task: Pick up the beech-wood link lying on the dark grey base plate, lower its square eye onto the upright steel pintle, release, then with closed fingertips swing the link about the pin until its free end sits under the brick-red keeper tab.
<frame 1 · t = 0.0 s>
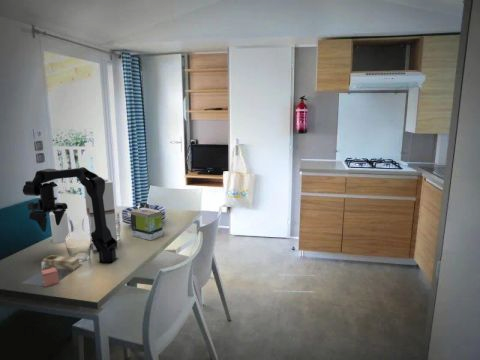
hand: (51, 228, 162), 15 cm above the table, fingers open, 9 cm apart
pintle: (44, 273, 148), resting on base plate
tea box: (147, 236, 193), on the table
base plate: (54, 274, 147), on the table
link: (76, 268, 152), point 1 cm above the table, touching base plate
tall white box: (103, 248, 175), on the table
keeper: (51, 285, 138), resting on base plate
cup: (61, 240, 186), on the table
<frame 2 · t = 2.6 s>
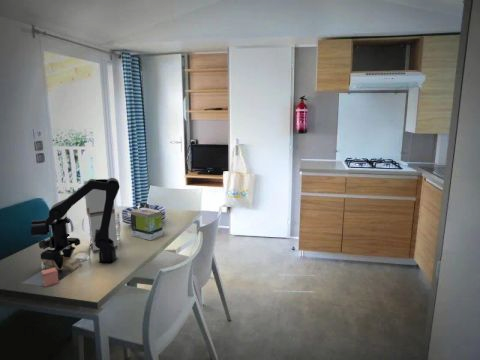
hand: (63, 266, 153), 1 cm above the table, fingers closed on link, 4 cm apart
link: (76, 268, 152), point 1 cm above the table, touching base plate, gripper
everything else where it was.
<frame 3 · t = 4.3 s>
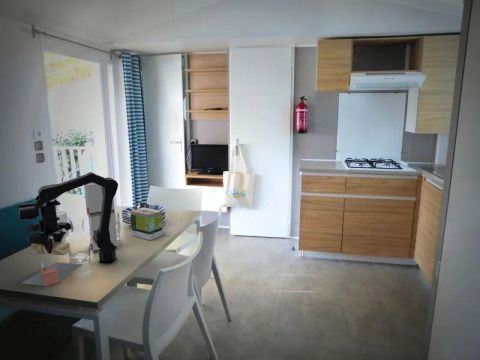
hand: (53, 251, 145), 10 cm above the table, fingers closed on link, 4 cm apart
link: (66, 253, 144), point 10 cm above the table, touching gripper
everything else where it was.
when the fingers open (2 cm above the table, at t = 6.1 s): link stays where it is, resting on base plate.
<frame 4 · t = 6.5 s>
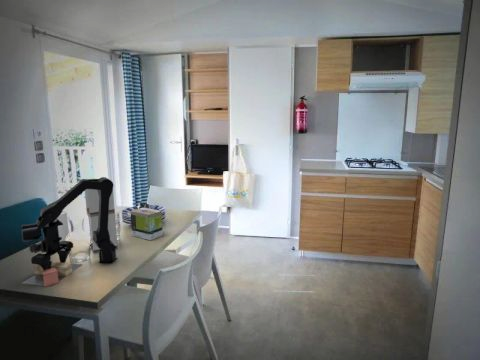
hand: (55, 270, 147), 2 cm above the table, fingers open, 8 cm apart
link: (69, 274, 146), point 1 cm above the table, touching base plate
everything else where it was.
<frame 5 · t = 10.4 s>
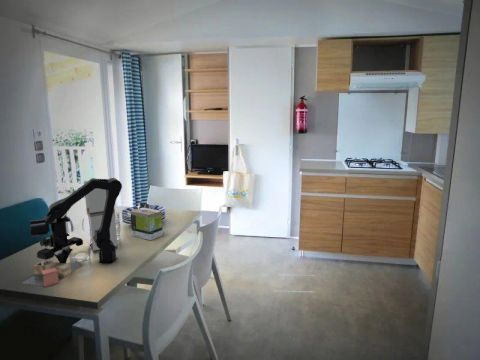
hand: (63, 266, 150), 2 cm above the table, fingers closed
link: (68, 274, 146), point 1 cm above the table, touching gripper
everything else where it was.
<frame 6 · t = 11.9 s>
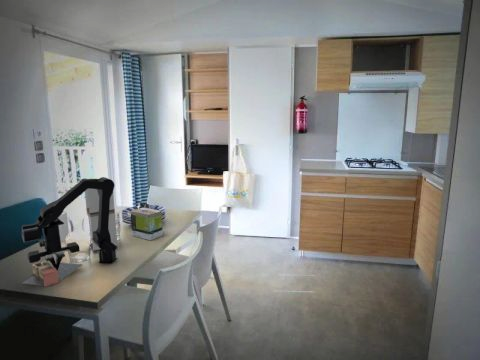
hand: (56, 270, 145), 2 cm above the table, fingers closed
link: (53, 281, 140), point 1 cm above the table, touching base plate, gripper, pintle
everything else where it was.
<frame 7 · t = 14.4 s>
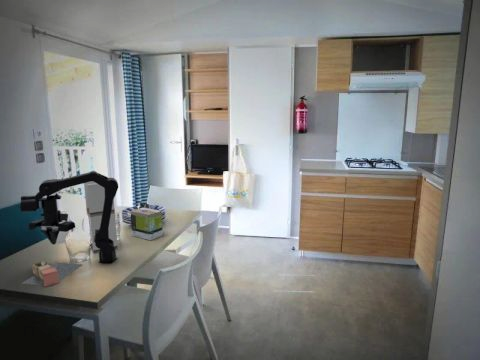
hand: (54, 244, 149), 12 cm above the table, fingers closed
link: (52, 281, 140), point 1 cm above the table, touching base plate
everything else where it was.
at the end: link 1.0 cm from the target spot, point 0.6 cm above the table; link tilted 0°; the gripper is holding nothing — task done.
